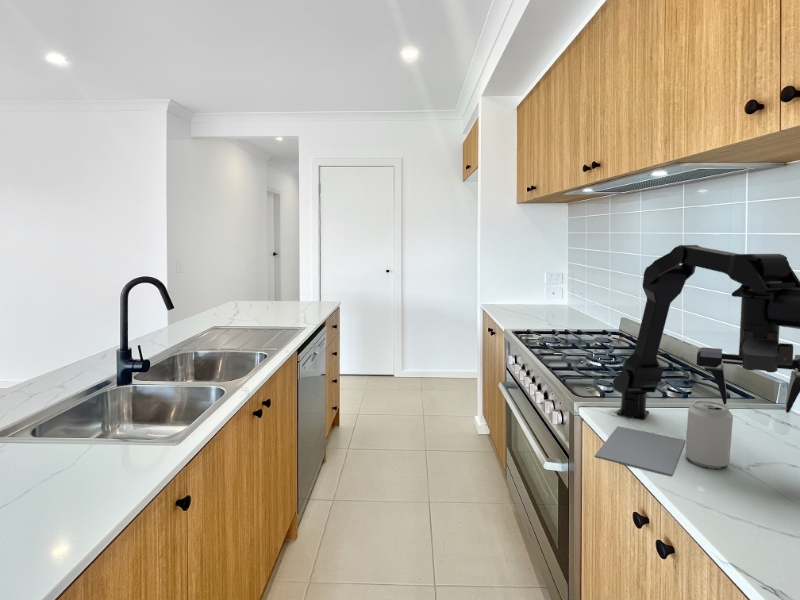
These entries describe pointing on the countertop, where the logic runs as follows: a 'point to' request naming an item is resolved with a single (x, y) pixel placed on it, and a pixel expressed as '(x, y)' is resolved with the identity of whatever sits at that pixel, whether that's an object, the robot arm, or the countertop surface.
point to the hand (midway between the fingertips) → (755, 407)
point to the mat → (642, 450)
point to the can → (709, 434)
